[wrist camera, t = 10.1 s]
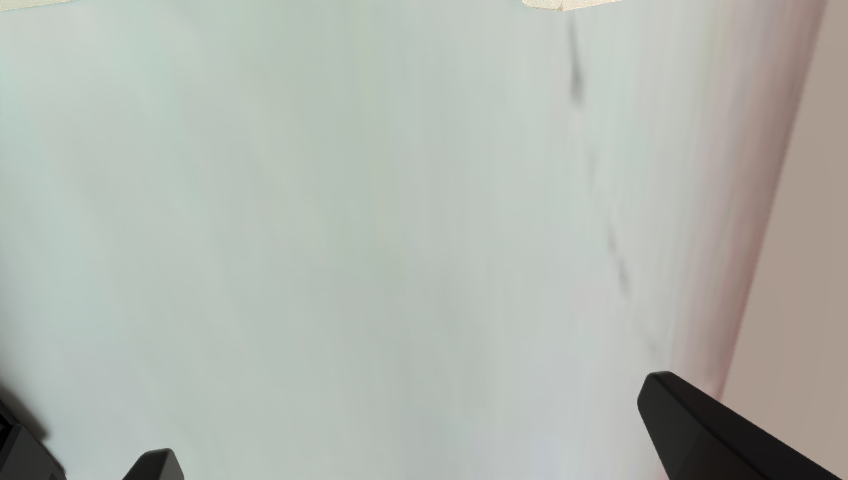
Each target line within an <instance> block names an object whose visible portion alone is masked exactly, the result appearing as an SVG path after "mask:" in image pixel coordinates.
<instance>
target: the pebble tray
mask: <svg viewBox="0 0 848 480" xmlns="http://www.w3.org/2000/svg"><path fill="white" fill-rule="evenodd" d="M66 1H73V0H0V11H4V10H11V9H18V8H25V7H32V6H39V5H46V4H52V3H59V2H66Z"/></svg>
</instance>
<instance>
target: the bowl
mask: <svg viewBox="0 0 848 480" xmlns="http://www.w3.org/2000/svg"><path fill="white" fill-rule="evenodd" d="M522 1H523V2H524V3H525V4H526V5H527V6H531V7H532V8H539V9H548V10H557V11H566V10H571V9H577V8H582V7H588V6H593V5H598V4H604V3H609V2H615V1H620V0H522Z"/></svg>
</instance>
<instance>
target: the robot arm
mask: <svg viewBox="0 0 848 480" xmlns="http://www.w3.org/2000/svg"><path fill="white" fill-rule="evenodd" d="M637 405H638V410H639V412H640V415H641V417H642V419H643V422H644V424H645V426H646V428H647V431H648V433H649V435H650V437H651V440H652V442H653V444H654V446H655V449H656V451H657V453H658V455H659V458H660V460H661V462H662V465H663V467H664V469H665V471H666V473H667V475H668V478H669V480H842V479H840V478H839V477H837V476H836V475H834V474H832V473H831V472H829V471H828V470H826V469H824V468H823V467H821V466H820V465H818V464H816V463H815V462H813V461H812V460H810V459H809V458H807V457H805V456H804V455H802V454H801V453H799V452H798V451H796V450H794V449H793V448H791V447H790V446H788V445H786V444H785V443H783V442H782V441H780V440H778V439H777V438H775V437H774V436H772V435H771V434H769V433H767V432H766V431H764V430H763V429H761V428H759V427H758V426H756V425H754V424H753V423H752V422H750V421H748V420H746V419H745V418H744V417H742V416H740V415H739V414H737V413H736V412H734V411H733V410H731V409H729V408H728V407H726V406H724V405H723V404H721V403H720V402H718V401H717V400H715V399H713V398H712V397H710V396H709V395H707V394H706V393H704V392H702V391H701V390H699V389H698V388H696V387H694V386H693V385H691V384H690V383H688V382H687V381H685V380H683V379H682V378H680V377H679V376H677V375H675V374H674V373H672V372H669V371H660V372H653V373H650V374H648V375H647V377H646V379H645V381H644V384H643V386H642V389H641V391H640V393H639V396H638V399H637ZM0 480H67V479H66V477H65V475H64V474H63V473H62V472H61V471H60V470H59V468H58V467H57V466H56V465H55V464H54V461H53V460H52V459H51V458H50V457H49V455H48V454H47V453H46V452H45V451H44V450H43V448H42V447H41V446H40V445H39V444H38V443H37V441H36V440H35V439H34V438H33V437H32V435H31V434H30V433H29V432H28V431H27V430H26V428H25V427H23V426H22V425H21V424H20V423H19V422H18V420H17V419H16V418H15V417H14V416H13V415H12V413H11V412H10V411H9V410H8V409H7V407H6V406H5V405H4V404H3V403H2V402H1V400H0ZM122 480H184V475H183V472H182V470H181V468H180V465H179V463H178V461H177V458H176V456H175V454H174V452H173V450H171V449H170V448H165V449H158V450H152V451H148V452H145V453H144V454H143V455H141V457H140V458H139V459H138V460H137V461H136V463H135V464H134V465H133V467H132V468H131V469H130V470H129V472H128V473H127V474H126V476H125V477H124V478H123V479H122Z"/></svg>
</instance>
